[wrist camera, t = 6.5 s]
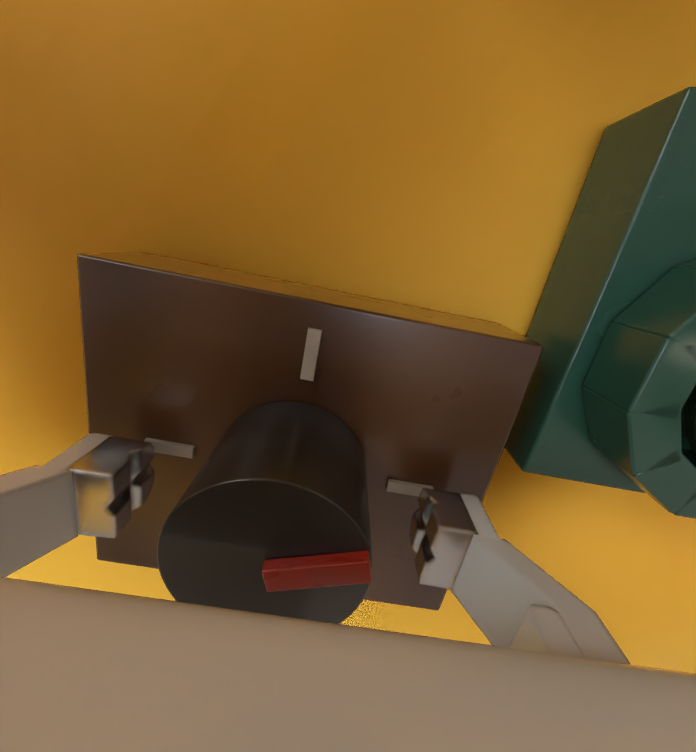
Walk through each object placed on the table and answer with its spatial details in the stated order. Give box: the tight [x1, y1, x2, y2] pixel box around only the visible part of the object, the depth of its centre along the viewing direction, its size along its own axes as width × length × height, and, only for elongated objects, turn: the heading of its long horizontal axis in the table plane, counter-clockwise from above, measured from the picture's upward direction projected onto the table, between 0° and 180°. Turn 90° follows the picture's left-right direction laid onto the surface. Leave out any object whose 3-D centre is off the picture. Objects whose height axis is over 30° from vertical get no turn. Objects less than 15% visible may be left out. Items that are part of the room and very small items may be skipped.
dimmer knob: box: [157, 401, 373, 624], centre depth 9 cm, size 4×4×4 cm
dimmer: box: [77, 253, 544, 610], centre depth 12 cm, size 12×10×3 cm
